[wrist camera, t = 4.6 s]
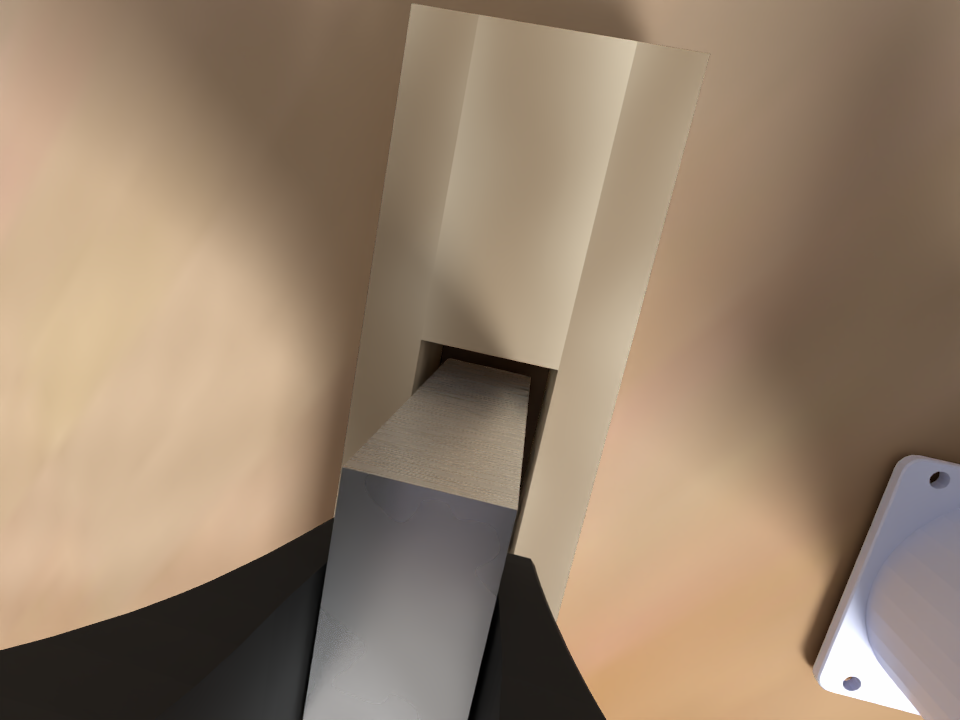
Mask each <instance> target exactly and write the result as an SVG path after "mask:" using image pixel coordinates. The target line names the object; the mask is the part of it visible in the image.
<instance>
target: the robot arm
mask: <svg viewBox="0 0 960 720" xmlns="http://www.w3.org/2000/svg"><path fill="white" fill-rule="evenodd" d="M936 472H940V474H939V477H938V479H937V480H936V481H934V482H932V483H929V481H930V477H931V476H932V475H933V474H934V473H936ZM333 523H334V518H332V519H330V520H329V521H327V522H325V523H323V524H321V525H320V526H318V527H316V528H314V529H313V530H311V531H309V532H307V533H305V534H304V535H302V536H300V537H298V538H296V539H294V540H293V541H291V542H289V543H287V544H285V545H283V546H281V547H280V548H278V549H276V550H274V551H272V552H270V553H268V554H266V555H264V556H262V557H260V558H258V559H256V560H254V561H252V562H250V563H248V564H246V565H244V566H241V567H239V568H237V569H235V570H233V571H231V572H229V573H227V574H225V575H223V576H220V577H218V578H216V579H214V580H212V581H210V582H207V583H205V584H203V585H200V586H198V587H196V588H193V589H191V590H188V591H186V592H184V593H181V594H179V595H176V596H173V597H171V598H168V599H165V600H163V601H160V602H157V603H155V604H152V605H150V606H147V607H144V608H141V609H139V610H136V611H133V612H130V613H127V614H124V615H121V616H117V617H114V618H111V619H108V620H105V621H101V622H98V623H95V624H92V625H88V626H85V627H82V628H79V629H76V630H72V631H69V632H66V633H63V634H59V635H56V636H53V637H49V638H46V639H42V640H38V641H35V642H31V643H27V644H23V645H19V646H15V647H12V648H8V649H4V650H0V720H303V716H304V709H305V703H306V697H307V690H308V684H309V677H310V671H311V664H312V658H313V652H314V645H315V639H316V632H317V626H318V620H319V613H320V607H321V600H322V594H323V587H324V581H325V575H326V568H327V562H328V555H329V549H330V542H331V536H332V530H333ZM813 675H814V677H815V679H816V680H817V682H818V683H819V685H820V686H821V687H822V688H823V689H825V690H827V691H830V692H834V693H838V694H841V695H845V696H849V697H853V698H857V699H860V700H864V701H868V702H872V703H876V704H879V705H883V706H887V707H891V708H895V709H899V710H902V711H906V712H910V713H914V714H918V715H921V716H922V717H923V718H924V720H960V464H956V463H952V462H947V461H943V460H938V459H934V458H930V457H925V456H921V455H910V456H906V457H904V458H902V459H901V460H900V461H898V463H897V464H896V466H895V468H894V470H893V473H892V475H891V477H890V480H889V482H888V485H887V487H886V490H885V492H884V495H883V497H882V499H881V502H880V504H879V507H878V509H877V512H876V514H875V517H874V519H873V522H872V524H871V526H870V529H869V531H868V534H867V536H866V539H865V541H864V544H863V546H862V548H861V551H860V553H859V556H858V558H857V561H856V563H855V566H854V568H853V571H852V573H851V575H850V578H849V580H848V583H847V585H846V588H845V590H844V593H843V595H842V597H841V600H840V602H839V605H838V607H837V610H836V612H835V615H834V617H833V620H832V622H831V624H830V627H829V629H828V632H827V634H826V637H825V639H824V642H823V644H822V646H821V649H820V651H819V654H818V656H817V659H816V661H815V664H814V666H813ZM850 676H851V677H852V678H851V679H850V680H847V681H844V680H845V679H846V678H848V677H850ZM468 720H606V718H605V717H604V715H603V713H602V712H601V710H600V708H599V707H598V705H597V703H596V701H595V699H594V698H593V696H592V694H591V692H590V691H589V689H588V687H587V685H586V683H585V681H584V679H583V677H582V676H581V674H580V672H579V670H578V668H577V666H576V664H575V662H574V660H573V658H572V656H571V654H570V652H569V650H568V648H567V646H566V644H565V641H564V639H563V637H562V635H561V633H560V630H559V628H558V626H557V624H556V622H555V619H554V617H553V615H552V612H551V610H550V607H549V605H548V602H547V600H546V597H545V594H544V592H543V589H542V586H541V583H540V581H539V578H538V574H537V571H536V568H535V565H534V563H533V562H532V560H531V558H527V557H523V556H519V555H515V554H511V553H507V556H506V560H505V565H504V569H503V573H502V577H501V581H500V586H499V590H498V594H497V598H496V602H495V607H494V611H493V615H492V619H491V623H490V628H489V632H488V636H487V640H486V644H485V649H484V653H483V657H482V661H481V665H480V669H479V674H478V678H477V682H476V686H475V690H474V695H473V699H472V703H471V707H470V711H469V716H468Z"/></svg>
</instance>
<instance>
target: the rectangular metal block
mask: <svg viewBox="0 0 960 720" xmlns="http://www.w3.org/2000/svg"><path fill="white" fill-rule="evenodd" d="M530 379H531V376H527V375H522V374H518V373H513V372H509V371H504V370H500V369H496V368H491V367H487V366H482V365H478V364H473V363H469V362H464V361H460V360H456V359H451V358H448V359H447V360H446V361H445V362H444V363H443V364H442V365H441V366H440V367H439V368H438V369H437V370H436V371H435V372H434V374H433V375H432V376H431V377H430V378H429V379H428V380H427V381H426V382H425V383H424V384H423V385H422V386H421V387H420V388H419V389H418V390H417V391H416V392H415V393H414V394H413V395H412V396H411V397H410V398H409V399H408V400H407V401H406V402H405V403H404V404H403V405H402V406H401V407H400V408H399V409H398V410H397V411H396V412H395V414H394V415H393V416H392V417H391V418H390V419H389V420H388V421H387V422H386V423H385V424H384V425H383V426H382V427H381V428H380V429H379V430H378V431H377V432H376V433H375V434H374V435H373V436H372V437H371V438H370V439H369V440H368V441H367V442H366V443H365V444H364V445H363V446H362V447H361V448H360V449H359V450H358V451H357V452H356V454H355V455H354V456H353V457H352V458H351V459H350V460H349V461H348V462H347V463H346V464H345V465H344V466H343V467H342V472H341V478H340V485H339V491H338V498H337V504H336V510H335V517H334V523H333V530H332V536H331V542H330V549H329V555H328V562H327V568H326V575H325V581H324V587H323V594H322V600H321V607H320V613H319V620H318V626H317V632H316V639H315V645H314V652H313V658H312V664H311V671H310V677H309V684H308V690H307V697H306V703H305V709H304V716H303V720H468V716H469V711H470V707H471V703H472V699H473V695H474V690H475V686H476V682H477V678H478V674H479V669H480V665H481V661H482V657H483V653H484V649H485V644H486V640H487V636H488V632H489V628H490V623H491V619H492V615H493V611H494V607H495V602H496V598H497V594H498V590H499V586H500V581H501V577H502V573H503V569H504V565H505V560H506V556H507V552H508V548H509V544H510V539H511V535H512V531H513V527H514V523H515V518H516V514H517V510H518V500H519V489H520V479H521V469H522V459H523V449H524V439H525V429H526V419H527V409H528V399H529V389H530Z"/></svg>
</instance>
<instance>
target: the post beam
mask: <svg viewBox="0 0 960 720" xmlns="http://www.w3.org/2000/svg"><path fill="white" fill-rule="evenodd" d="M709 57H710V53H704V52H698V51H692V50H686V49H680V48H674V47H668V46H663V45H657V44H651V43H645V42H639V41H633V40H627V39H621V38H615V37H609V36H603V35H597V34H591V33H586V32H580V31H574V30H568V29H562V28H556V27H550V26H544V25H538V24H532V23H526V22H520V21H515V20H509V19H503V18H497V17H491V16H485V15H479V14H473V13H467V12H461V11H455V10H449V9H443V8H438V7H432V6H426V5H420V4H414V3H411V10H410V17H409V23H408V30H407V36H406V43H405V49H404V56H403V63H402V69H401V76H400V82H399V89H398V96H397V102H396V109H395V115H394V122H393V129H392V135H391V142H390V148H389V155H388V162H387V168H386V175H385V181H384V188H383V195H382V201H381V208H380V214H379V221H378V227H377V234H376V241H375V247H374V254H373V260H372V267H371V274H370V280H369V287H368V293H367V300H366V307H365V313H364V320H363V326H362V333H361V340H360V346H359V353H358V359H357V366H356V373H355V379H354V386H353V392H352V399H351V405H350V412H349V419H348V425H347V432H346V438H345V445H344V452H343V458H342V465H341V471H340V478H341V472H342V467H343V466H344V465H345V464H346V463H347V462H348V461H349V460H350V459H351V458H352V457H353V456H354V455H355V454H356V452H357V451H358V450H359V449H360V448H361V447H362V446H363V445H364V444H365V443H366V442H367V441H368V440H369V439H370V438H371V437H372V436H373V435H374V434H375V433H376V432H377V431H378V430H379V429H380V428H381V427H382V426H383V425H384V424H385V423H386V422H387V421H388V420H389V419H390V418H391V417H392V416H393V415H394V414H395V412H396V411H397V410H398V409H399V408H400V407H401V406H402V405H403V404H404V403H405V402H406V401H407V400H408V399H409V398H410V397H411V396H412V395H413V394H414V393H415V392H416V391H417V390H418V389H419V388H420V387H421V386H422V385H423V384H424V383H425V382H426V381H427V380H428V379H429V378H430V377H431V376H432V375H433V374H434V372H435V371H436V370H437V369H438V368H439V365H440V360H441V355H442V349H443V345H448V346H452V347H456V348H461V349H465V350H470V351H474V352H479V353H483V354H488V355H492V356H497V357H501V358H506V359H510V360H515V361H519V362H524V363H528V364H533V365H537V366H542V367H546V368H550V370H549V375H548V379H547V383H546V387H545V391H544V396H543V400H542V404H541V408H540V412H539V417H538V421H537V425H536V429H535V433H534V438H533V442H532V446H531V450H530V454H529V459H528V463H527V467H526V471H525V476H524V480H523V484H522V488H521V492H520V497H519V501H518V510H517V514H516V518H515V523H514V527H513V531H512V535H511V539H510V544H509V548H508V552H507V553H511V554H515V555H519V556H523V557H527V558H531V560H532V562H533V563H534V565H535V568H536V571H537V574H538V578H539V581H540V583H541V586H542V589H543V592H544V594H545V597H546V600H547V602H548V605H549V607H550V610H551V612H552V615H553V617H554V619H555V622H556V621H557V618H558V614H559V610H560V607H561V603H562V599H563V596H564V592H565V588H566V584H567V581H568V577H569V573H570V570H571V566H572V562H573V559H574V555H575V551H576V548H577V544H578V540H579V536H580V533H581V529H582V525H583V522H584V518H585V514H586V511H587V507H588V503H589V500H590V496H591V492H592V488H593V485H594V481H595V477H596V474H597V470H598V466H599V463H600V459H601V455H602V452H603V448H604V444H605V440H606V437H607V433H608V429H609V426H610V422H611V418H612V415H613V411H614V407H615V404H616V400H617V396H618V392H619V389H620V385H621V381H622V378H623V374H624V370H625V367H626V363H627V359H628V356H629V352H630V348H631V344H632V341H633V337H634V333H635V330H636V326H637V322H638V319H639V315H640V311H641V308H642V304H643V300H644V296H645V293H646V289H647V285H648V282H649V278H650V274H651V271H652V267H653V263H654V260H655V256H656V252H657V248H658V245H659V241H660V237H661V234H662V230H663V226H664V223H665V219H666V215H667V212H668V208H669V204H670V200H671V197H672V193H673V189H674V186H675V182H676V178H677V175H678V171H679V167H680V164H681V160H682V156H683V152H684V149H685V145H686V141H687V138H688V134H689V130H690V127H691V123H692V119H693V116H694V112H695V108H696V104H697V101H698V97H699V93H700V90H701V86H702V82H703V79H704V75H705V71H706V68H707V64H708V60H709ZM340 478H339V485H340ZM339 485H338V491H339ZM338 491H337V498H338ZM337 498H336V504H337ZM336 504H335V510H336ZM334 517H335V511H334Z"/></svg>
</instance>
